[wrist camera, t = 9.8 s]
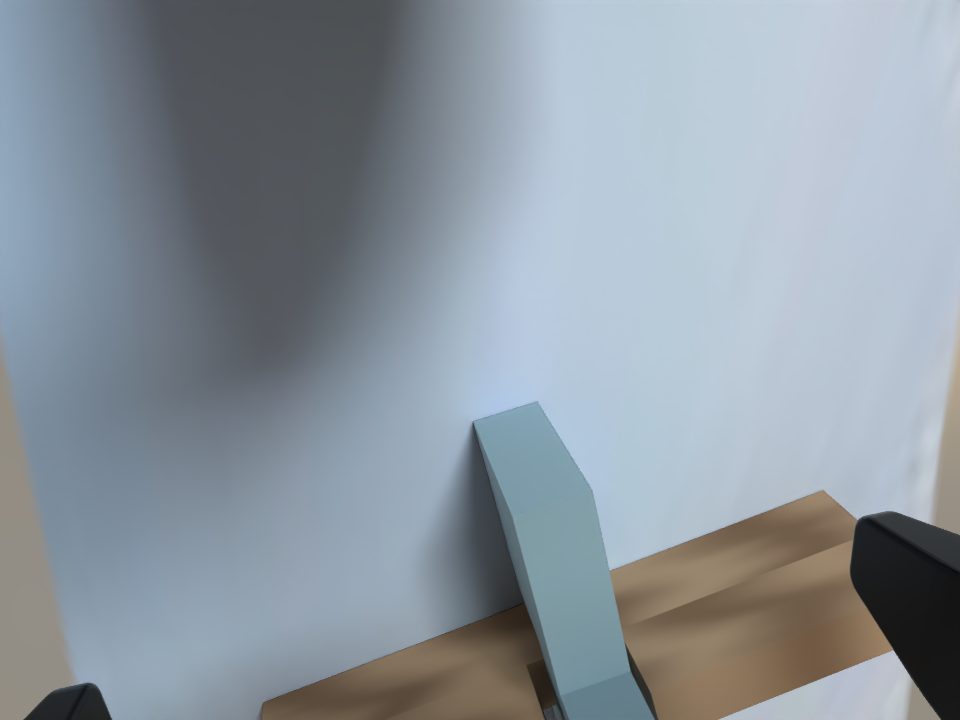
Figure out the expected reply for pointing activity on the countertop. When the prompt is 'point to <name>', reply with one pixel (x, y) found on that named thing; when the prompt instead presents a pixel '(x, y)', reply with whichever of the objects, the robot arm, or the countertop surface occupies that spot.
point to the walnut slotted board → (648, 633)
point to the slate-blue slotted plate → (560, 565)
